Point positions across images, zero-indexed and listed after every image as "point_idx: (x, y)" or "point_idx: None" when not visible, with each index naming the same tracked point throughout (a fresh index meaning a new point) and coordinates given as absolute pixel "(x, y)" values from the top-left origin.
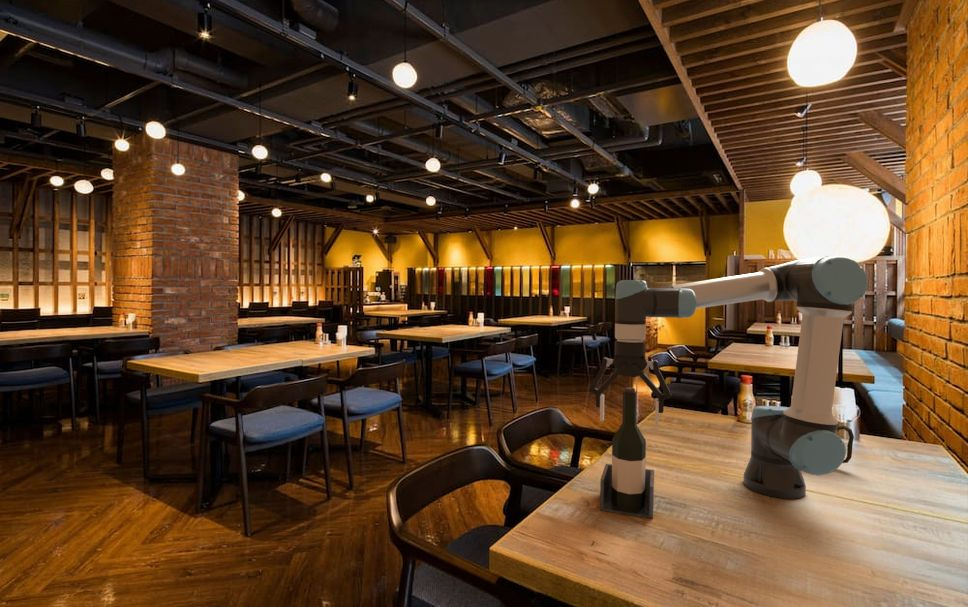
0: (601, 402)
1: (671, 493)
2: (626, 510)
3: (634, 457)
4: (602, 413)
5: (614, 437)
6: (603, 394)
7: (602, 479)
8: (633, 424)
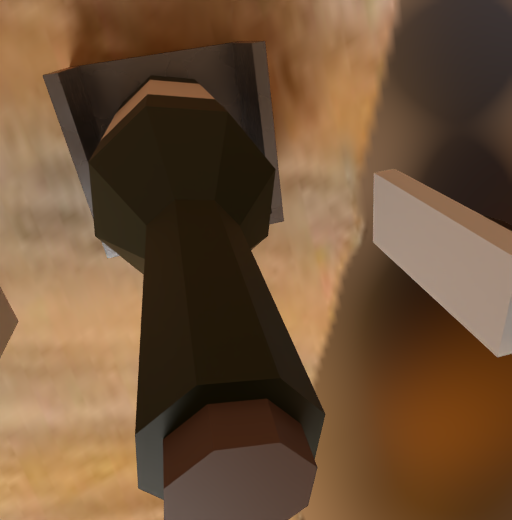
0: (482, 224)
1: (87, 285)
2: (160, 71)
3: (130, 113)
4: (407, 190)
5: (264, 164)
6: (506, 344)
7: (257, 42)
8: (152, 220)
